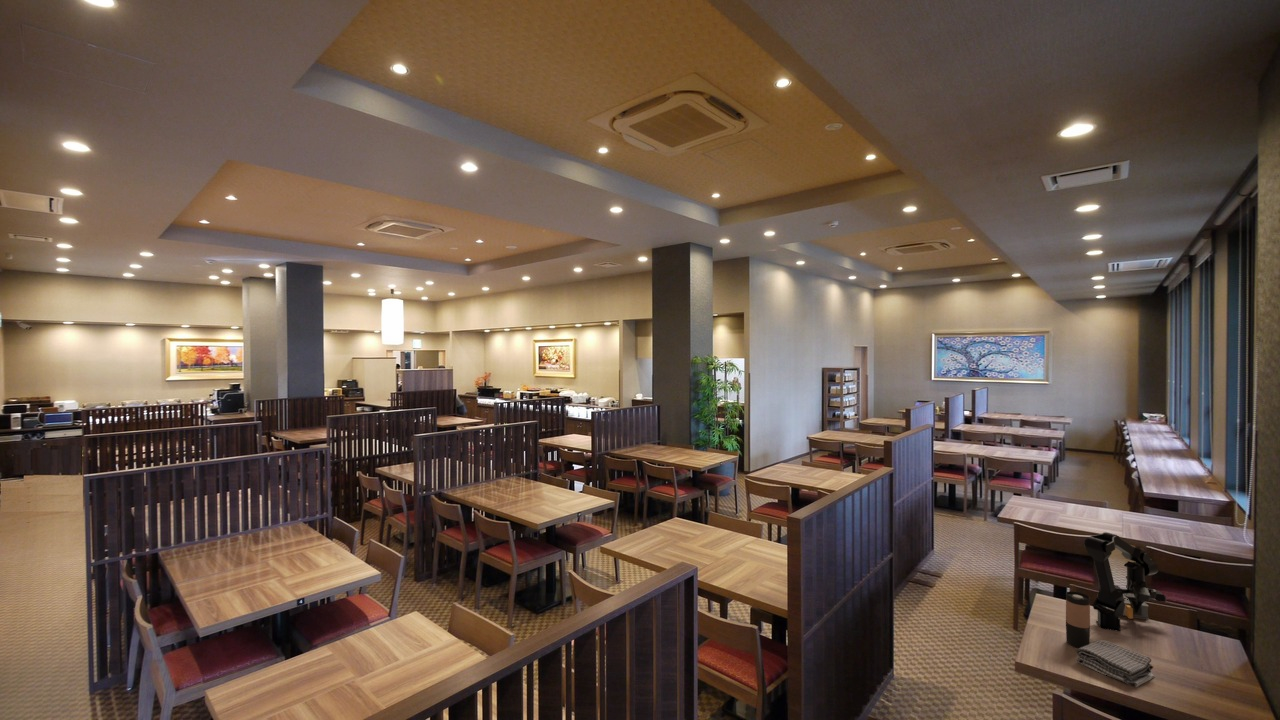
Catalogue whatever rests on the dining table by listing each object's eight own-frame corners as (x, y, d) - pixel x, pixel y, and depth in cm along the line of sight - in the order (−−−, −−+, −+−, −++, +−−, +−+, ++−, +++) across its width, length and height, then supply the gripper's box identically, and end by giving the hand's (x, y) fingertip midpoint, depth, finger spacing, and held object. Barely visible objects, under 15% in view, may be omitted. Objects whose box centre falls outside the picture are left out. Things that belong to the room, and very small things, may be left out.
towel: (1097, 654, 212) (1097, 634, 212) (1157, 680, 196) (1157, 658, 196) (1074, 664, 206) (1074, 643, 206) (1135, 691, 189) (1135, 668, 189)
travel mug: (1081, 640, 222) (1081, 591, 222) (1095, 650, 215) (1095, 599, 215) (1061, 639, 223) (1061, 590, 223) (1074, 649, 216) (1074, 599, 215)
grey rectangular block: (1109, 615, 242) (1109, 605, 242) (1106, 611, 246) (1106, 601, 246) (1132, 618, 239) (1132, 608, 239) (1128, 615, 243) (1128, 604, 243)
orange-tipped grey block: (1105, 613, 246) (1105, 598, 246) (1097, 604, 255) (1097, 590, 255) (1148, 619, 240) (1148, 604, 240) (1138, 610, 249) (1138, 595, 249)
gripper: (1116, 580, 235) (1116, 616, 235) (1172, 587, 228) (1172, 624, 228) (1106, 571, 246) (1106, 605, 246) (1159, 577, 238) (1159, 613, 238)
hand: (1135, 612), depth 239 cm, fingers closed
